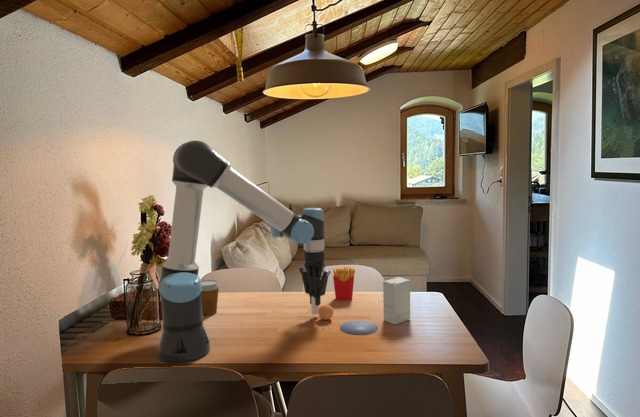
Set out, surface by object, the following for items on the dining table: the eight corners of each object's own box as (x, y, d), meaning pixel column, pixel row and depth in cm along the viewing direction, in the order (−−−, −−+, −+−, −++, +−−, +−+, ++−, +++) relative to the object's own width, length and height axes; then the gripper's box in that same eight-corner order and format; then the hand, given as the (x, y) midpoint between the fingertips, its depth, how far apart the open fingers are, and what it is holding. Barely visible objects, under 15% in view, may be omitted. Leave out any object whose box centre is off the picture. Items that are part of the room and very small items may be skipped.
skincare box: (398, 315, 169) (398, 276, 168) (411, 320, 164) (411, 279, 163) (382, 320, 164) (382, 280, 163) (394, 325, 159) (394, 283, 158)
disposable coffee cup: (224, 309, 181) (222, 279, 179) (216, 317, 171) (214, 286, 170) (200, 309, 182) (199, 279, 180) (191, 317, 172) (190, 285, 171)
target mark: (364, 337, 149) (364, 337, 148) (332, 329, 156) (332, 328, 156) (385, 326, 159) (385, 325, 159) (353, 318, 167) (353, 318, 167)
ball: (313, 316, 166) (324, 324, 164) (318, 303, 165) (329, 312, 162) (322, 311, 171) (333, 320, 168) (326, 299, 169) (338, 308, 166)
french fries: (333, 300, 189) (333, 269, 188) (333, 297, 194) (333, 267, 192) (355, 300, 189) (355, 269, 188) (355, 297, 193) (354, 266, 192)
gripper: (334, 250, 166) (335, 313, 168) (306, 247, 174) (308, 307, 176) (322, 254, 160) (323, 319, 162) (293, 250, 168) (295, 312, 170)
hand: (315, 313), depth 169 cm, fingers closed
